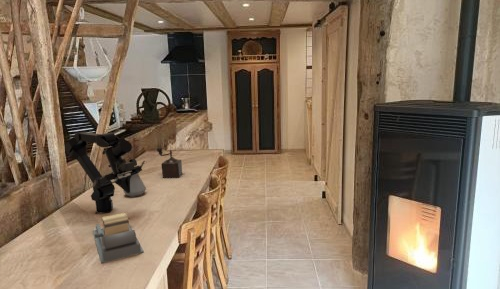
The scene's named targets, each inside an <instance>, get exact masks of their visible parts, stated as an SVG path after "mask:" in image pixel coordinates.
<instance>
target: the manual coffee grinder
mask: <svg viewBox="0 0 500 289" xmlns="http://www.w3.org/2000/svg"><path fill="white" fill-rule="evenodd" d="M156 152H157V153H158V155H159V157H164V156H165V157H166V156H169V155H170V157H169V158H168V159H165V160H164V161H163V162H162V163H161V164H160V165H161V173H162V179H180V178H181V176H182V175H183V164H182V159H176V158H174V157H173V154H172V153H173V152H172V149H170V150H169V153H165V154H164V153H163V147H162V146H158V147H156Z"/></svg>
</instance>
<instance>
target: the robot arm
mask: <svg viewBox="0 0 500 289" xmlns="http://www.w3.org/2000/svg"><path fill="white" fill-rule="evenodd" d="M89 143H92V144H96V146H97V147H99V148H103V150H102V155H105V157H106V158H107V161H108V164H109V165H108V168H111V171H112V172H111V173H109V174H105V175H102V174H101V173H100V171H99V170H98V168H97V167H96V165H95V164H94V162H93V161H92V160H91V158H90V157H89V155H88V153H87V152H88V148H87V146H88V145H89ZM132 149H133V146H132V143H131V142H130V141H129V140H128V139H125V137H120V138H119V137H118V136H117V135H116V133H114V132H106V133H94V132H89V131H88V132H87V131H80V132H79V131H78V132H76V133H75V134H74V135H73V137H71V138H70V139H69V140H68V141H67V143H66V144H65V147H64V150H65V152H66V153H67V154H68V155H69V156H70V158H71V159H75V161H77V162H78V164H79V165H80V167H81V168H82V169H83V171H84V172H85V174H86V175H87V176H88V179H89V180H90V181H91V183H92V191H93V192H92V193H91V194H90V197H91V201H94V202H95V208H96V211H95V214H103V213H104V214H105V213H111V211H112V210H113V208H114V203H113V199H112V197H114V196H115V185H114V184H116V185H117V186H119V187H120V188H121V189H122V190H124V191H126V192H127V193H130V179H131V176H133V175H134V174H137V173H138V174H139V173H140V172H142V171H143V167H142V168H141V166H140V165H138V161H137V160H136V158H131V159H129V161H126V159H125V158H123V156H125V155H126V154H128V153H130V152H131V151H132ZM112 180H113V181H112ZM124 191H123V192H124Z"/></svg>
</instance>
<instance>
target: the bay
mask: <svg viewBox="0 0 500 289" xmlns="http://www.w3.org/2000/svg"><path fill="white" fill-rule="evenodd" d="M95 227H96V229H94V230H93V231H92V232H93V236H94V241H95V244H96V245H95V246H96V248H97V251H98V256H99V260H100V263H101V264H104V263H108V262H109V263H110V262H113V261H117V260H120V259H124V258H129V257H132V256H136V255H140V254H143V253H144V249H143V247H142V245H141V242H140V241H139V240H138V237H137V234H136V231H135V229H133V228H132V226H131V224H130V223H129V231H127V232H122V233H118V234H113V235H109V236H104V231H103V230H104V228H101V226H100V223H97V224H95Z"/></svg>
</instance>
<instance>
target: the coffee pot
mask: <svg viewBox="0 0 500 289" xmlns="http://www.w3.org/2000/svg"><path fill="white" fill-rule="evenodd" d="M147 163H148V162H147V161H146V160H143V161H142V162H141V164H140V165H139V166H141V168H142V169H143V166H144V165H145V164H147ZM122 190H123V189H122ZM146 190H147V187H146V186H145V184H144V182H143V180H142V178H141V176H140V175H139V173H137V174H134V175H133V176H131V179H130V193H127V192H126V191H124V190H123V193H124V194H125V195H126V196H127V197H129V198H130V197H131V198H136V197H140V196H142V195H143V194H144V193H145V191H146Z"/></svg>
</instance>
